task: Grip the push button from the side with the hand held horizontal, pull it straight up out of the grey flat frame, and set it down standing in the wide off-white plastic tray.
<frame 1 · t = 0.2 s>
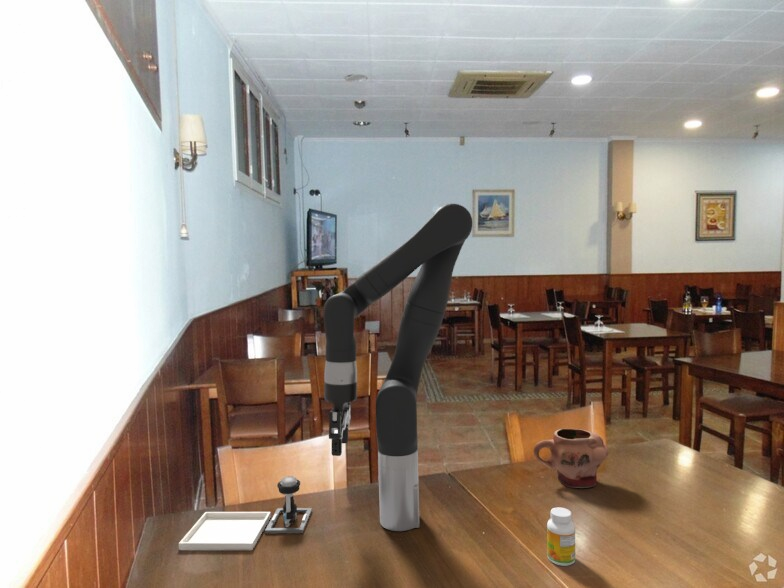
hand: (340, 448, 118), 18 cm above the table, tool pointing down, fingers open, 8 cm apart
supplement bottle: (561, 559, 102), on the table
sculpted ceramic mug: (571, 483, 137), on the table
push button: (289, 522, 120), resting in grey flat frame
grey flat frame: (289, 521, 120), on the table
tray: (227, 533, 115), on the table
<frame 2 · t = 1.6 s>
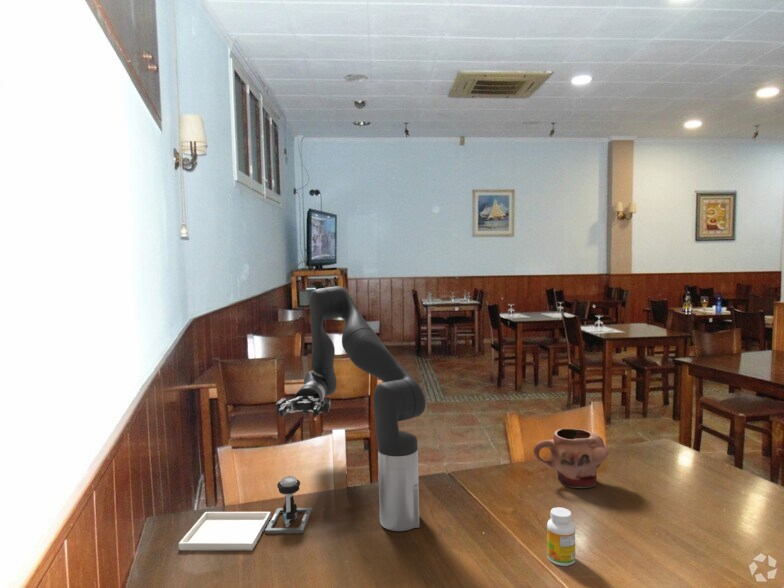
hand: (298, 413, 131), 22 cm above the table, tool horizontal, fingers open, 8 cm apart
nothing on the table moved.
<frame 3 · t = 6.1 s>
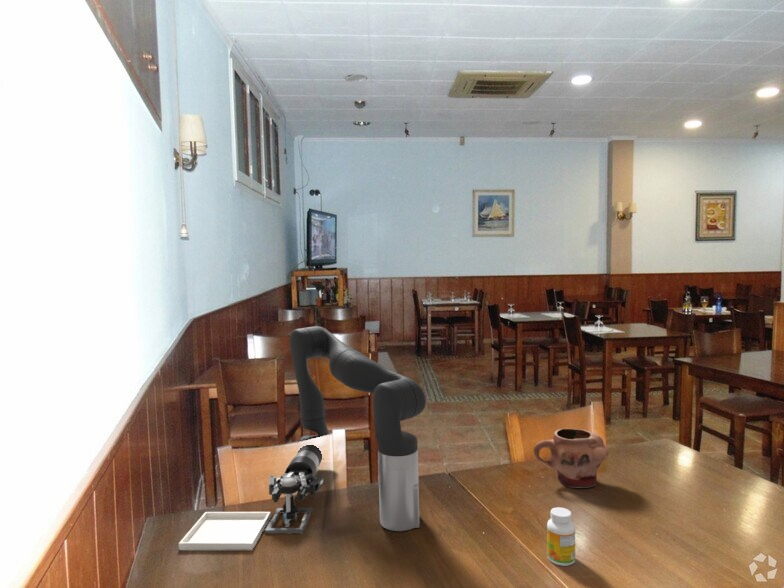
hand: (286, 498, 118), 7 cm above the table, tool horizontal, fingers closed on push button, 5 cm apart
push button: (289, 522, 120), resting in grey flat frame, touching gripper
everything else where it was.
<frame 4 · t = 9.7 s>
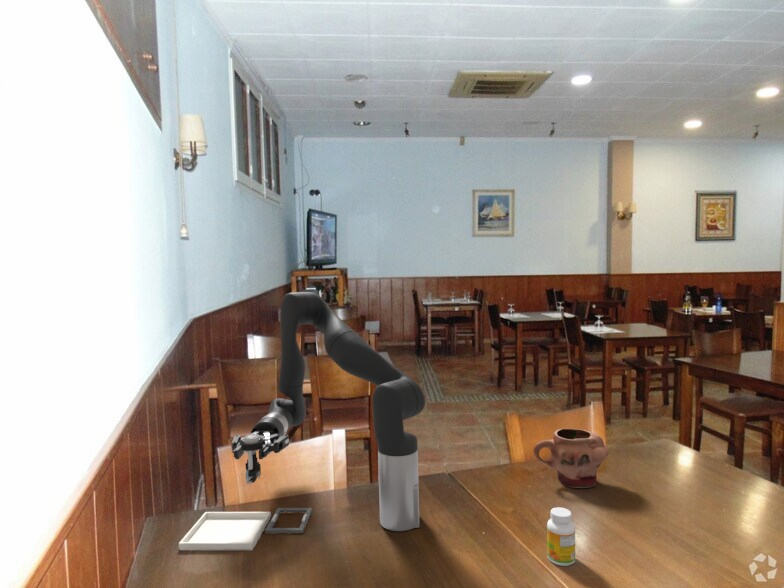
hand: (248, 455, 115), 18 cm above the table, tool horizontal, fingers closed on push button, 5 cm apart
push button: (252, 480, 117), point 11 cm above the table, touching gripper
everything else where it was.
when the fingers open (7 cm above the table, at t = 13.2 s): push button stays where it is, resting on tray.
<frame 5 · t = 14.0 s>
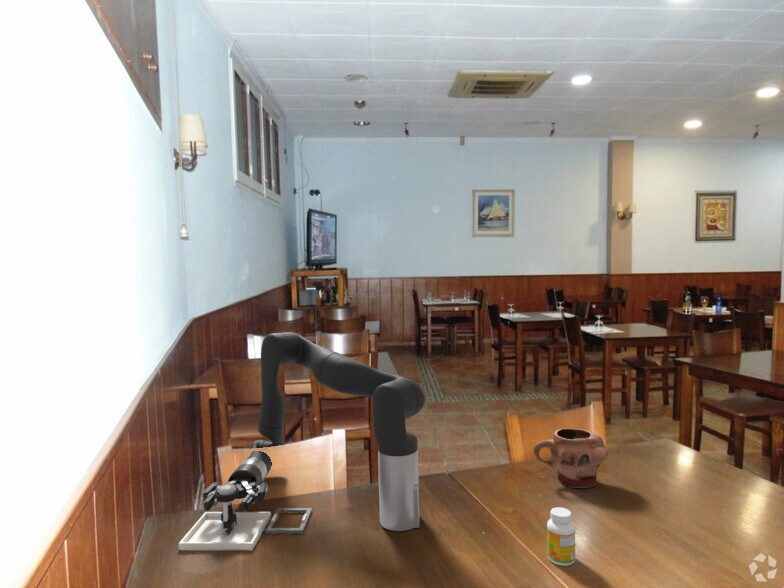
hand: (225, 507, 114), 7 cm above the table, tool horizontal, fingers open, 8 cm apart
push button: (227, 532, 115), resting on tray
everything else where it was.
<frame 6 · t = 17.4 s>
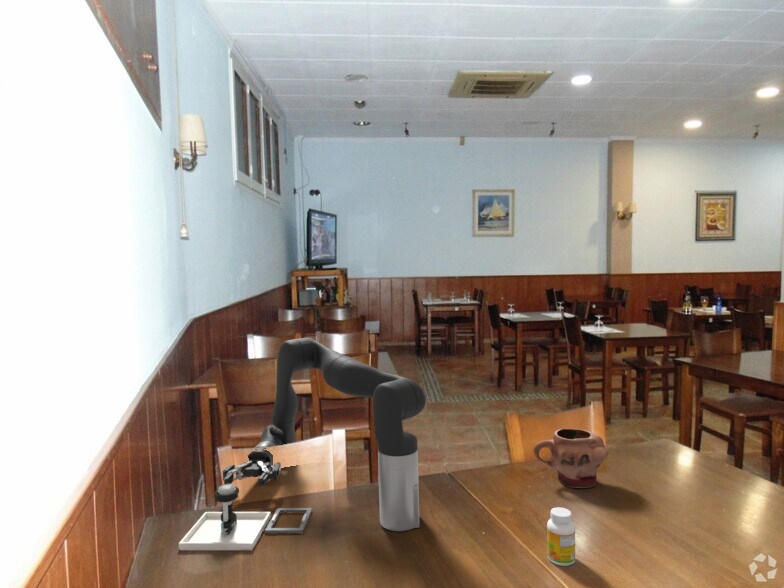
hand: (243, 483, 126), 7 cm above the table, tool horizontal, fingers open, 8 cm apart
nothing on the table moved.
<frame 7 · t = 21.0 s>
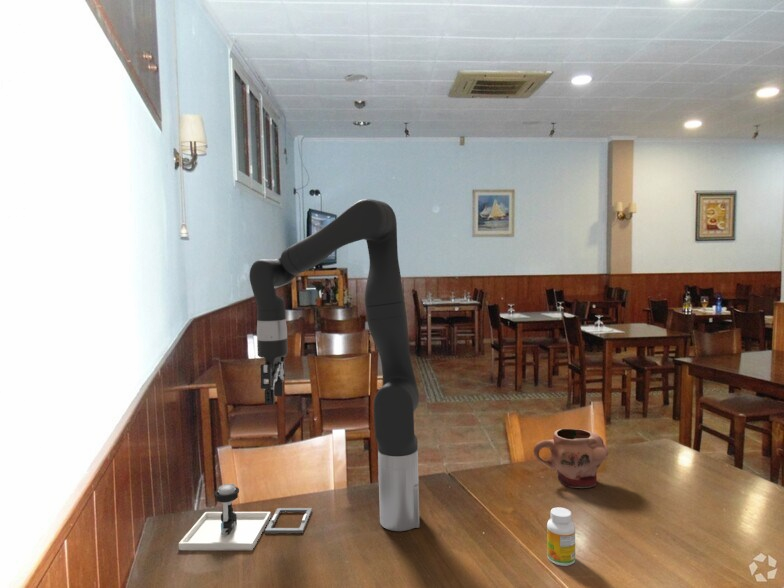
hand: (274, 399, 130), 26 cm above the table, tool pointing down, fingers open, 8 cm apart
nothing on the table moved.
at the end: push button inside the target area on the tray (0.2 cm from its centre), point 0.1 cm above the tray's base; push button tilted 0°; the gripper is holding nothing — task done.
